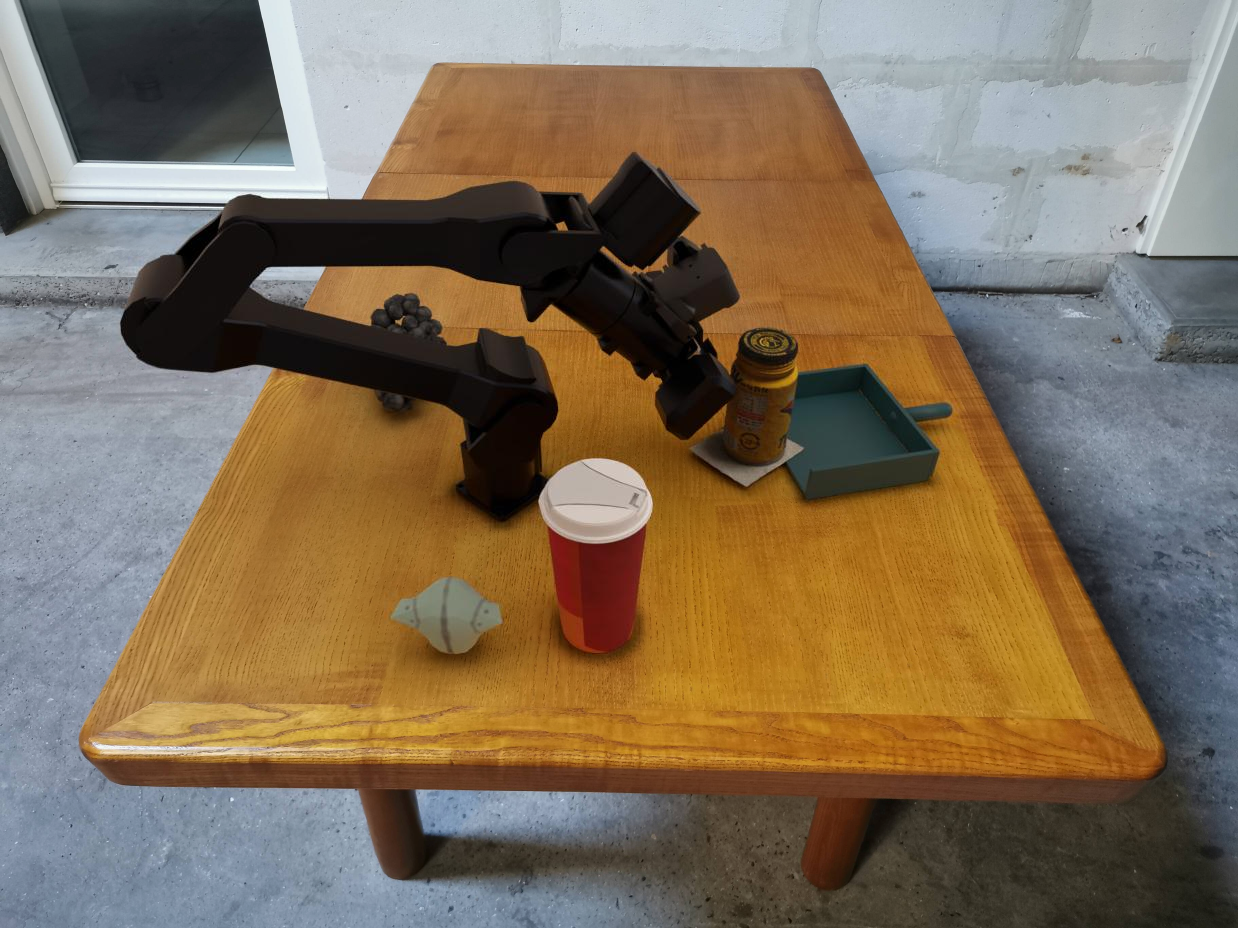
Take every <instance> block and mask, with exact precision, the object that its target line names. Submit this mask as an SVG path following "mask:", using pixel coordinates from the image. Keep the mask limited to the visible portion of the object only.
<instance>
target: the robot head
mask: <svg viewBox="0 0 1238 928" xmlns="http://www.w3.org/2000/svg"><path fill="white" fill-rule="evenodd" d="M500 610H501V609H500V606H499V603H497V602H493V601H490V600H487V599H486V598H485V597H483V595H481V593H479V592H478V591H477V590H476V589H475V588H474V587H472V586H471V584H469V583H468V582H467V581H466V580H465V579H463V578H460V577H453V576H447V577H441V578H439V579H437V580H436V581H434V582H433V583H432V584H430V585H429V586H427V588H425V589H424V590H422V591H421V592H420V593H419V594H417V595H416V596H412V597H406V598H401V599H400V600H399V602H398V604H397V605H396V607H395V609H394V610H393V612H392V614H391V616H390V619H392V620H393V621H397V622H399V623H402V624H403V625H406V626H408V627H411V628H412V629H415V630H416V631H417V632H419V633H421V635H423V636H424V638H426V639H427V641H428V642H429V643H430V644H431V646H432V647H433V648H434V649H436V650H438V651H439V652H440V653H445V654H451V655H458V654H464V653H465V654H466V653H467V652H469V651H470V650H471V649H472V648H473V647H474V646H475V645H476V644H477V642H478V640H479V637H481V636H482V635H483V634H485V632H487V631H489V630H491V629H493V628H496V627H498V626H499V625H502V624H503V620H502V615H501V611H500Z"/></svg>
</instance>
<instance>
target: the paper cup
mask: <svg viewBox="0 0 1238 928" xmlns="http://www.w3.org/2000/svg"><path fill="white" fill-rule="evenodd" d="M653 503H654V502H653V497H652V495H651V492H650V490H649V489H648V487H647V485H646V482H645V480H644V479H643V477H642V476H641V475H640V473H639V472H637V470H635V469H634V468H633V467H631V466H629V465H627V464H626V463H623V462H621V461H617V460H614V459H608V458H600V457H599V458H597V457H596V458H595V457H594V458H585V459H580V460H577V461H575V462H572V463H569V464H567V465H566V466H563V467H562V468H561V469H559V470H557V472H555V474H554V475H553V476H551V477H550V478H549V481H548V482H547V484H546V486H545V488H544V489H543V491H542V493H541V495H540V497H539V498H538V505H539V509H540V514H541V517H542V518H543V521H544V523H546V528H547V536H548V541H549V548H550V557H551V564H552V570H553V572H552V573H553V580H554V585H555V593H556V599H557V600H556V601H557V606H558V613H559V619H560V624H561V625H560V626H561V629H562V633H563V635H564V638H565V639H566V641H568V643H569V644H571V645H572V646H573V647H574V648H576V649H578V650H580V651H582V652H586V653H592V654H604V653H609V652H612V651H615V650H617V649H619V648H621V647H623V645H624V644H625V643H626V642H627V641H629V639H630V637H631V635H632V633H633V629H634V625H635V619H636V613H637V605H638V598H639V588H640V580H641V571H642V565H643V557H644V551H645V545H646V535H647V525H648V522H649V520H650V518H651V515H652V512H653V505H654V504H653Z"/></svg>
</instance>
